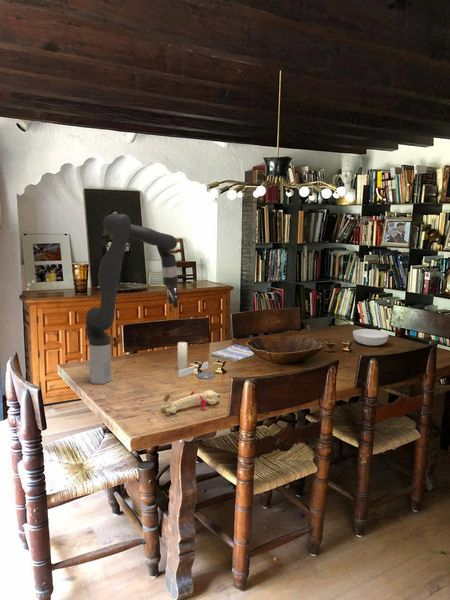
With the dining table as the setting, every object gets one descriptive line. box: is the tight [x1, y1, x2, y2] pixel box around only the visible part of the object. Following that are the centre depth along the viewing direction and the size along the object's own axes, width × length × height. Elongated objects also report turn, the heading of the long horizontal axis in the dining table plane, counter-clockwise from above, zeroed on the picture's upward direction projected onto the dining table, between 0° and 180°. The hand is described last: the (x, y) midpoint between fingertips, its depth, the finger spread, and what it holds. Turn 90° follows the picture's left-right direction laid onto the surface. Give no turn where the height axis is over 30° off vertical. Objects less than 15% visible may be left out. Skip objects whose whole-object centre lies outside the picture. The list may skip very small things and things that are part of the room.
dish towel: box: [211, 344, 255, 362], centre depth 267 cm, size 17×24×3 cm
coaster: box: [195, 371, 216, 380], centre depth 230 cm, size 9×9×1 cm
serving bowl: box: [352, 328, 390, 347], centre depth 296 cm, size 21×21×7 cm
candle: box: [176, 341, 188, 371], centre depth 238 cm, size 5×5×14 cm
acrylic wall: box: [177, 361, 209, 378], centre depth 234 cm, size 1×20×3 cm, turn 140°
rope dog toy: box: [160, 389, 221, 417], centre depth 192 cm, size 10×9×25 cm
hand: (173, 305), depth 250 cm, fingers open, 8 cm apart
